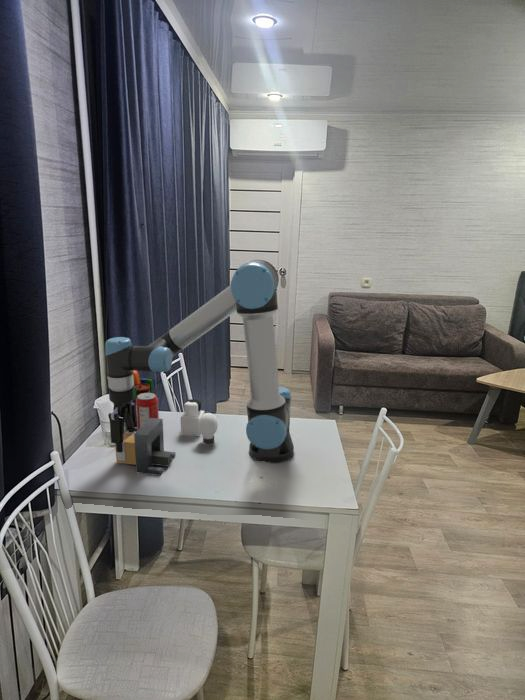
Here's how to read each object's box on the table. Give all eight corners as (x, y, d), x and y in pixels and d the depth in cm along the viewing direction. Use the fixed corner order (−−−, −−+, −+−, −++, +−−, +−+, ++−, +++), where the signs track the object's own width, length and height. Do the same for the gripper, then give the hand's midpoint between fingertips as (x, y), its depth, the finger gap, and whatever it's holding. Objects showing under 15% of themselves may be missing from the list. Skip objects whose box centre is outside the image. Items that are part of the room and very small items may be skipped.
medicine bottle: (186, 426, 168) (186, 396, 165) (205, 427, 167) (204, 398, 164) (180, 434, 161) (179, 404, 158) (199, 436, 160) (199, 405, 157)
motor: (144, 427, 166) (142, 377, 161) (123, 424, 168) (119, 375, 162) (156, 416, 176) (154, 368, 170) (135, 414, 177) (132, 367, 172)
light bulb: (221, 440, 157) (221, 412, 154) (210, 448, 152) (210, 419, 149) (205, 436, 160) (205, 408, 157) (194, 443, 155) (194, 414, 152)
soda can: (140, 440, 156) (138, 401, 152) (134, 432, 162) (132, 393, 158) (162, 436, 160) (160, 397, 156) (155, 427, 166) (154, 390, 162)
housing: (175, 456, 146) (174, 420, 142) (160, 475, 135) (159, 436, 131) (152, 453, 147) (151, 417, 144) (136, 472, 136) (134, 433, 132)
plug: (173, 459, 143) (172, 438, 141) (167, 468, 137) (166, 446, 135) (124, 454, 146) (123, 433, 144) (116, 462, 140) (114, 441, 138)
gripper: (124, 377, 145) (129, 440, 152) (93, 397, 128) (100, 468, 134) (145, 378, 144) (149, 443, 150) (117, 399, 127) (123, 471, 133)
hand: (126, 455), depth 142 cm, fingers closed on plug, 5 cm apart
